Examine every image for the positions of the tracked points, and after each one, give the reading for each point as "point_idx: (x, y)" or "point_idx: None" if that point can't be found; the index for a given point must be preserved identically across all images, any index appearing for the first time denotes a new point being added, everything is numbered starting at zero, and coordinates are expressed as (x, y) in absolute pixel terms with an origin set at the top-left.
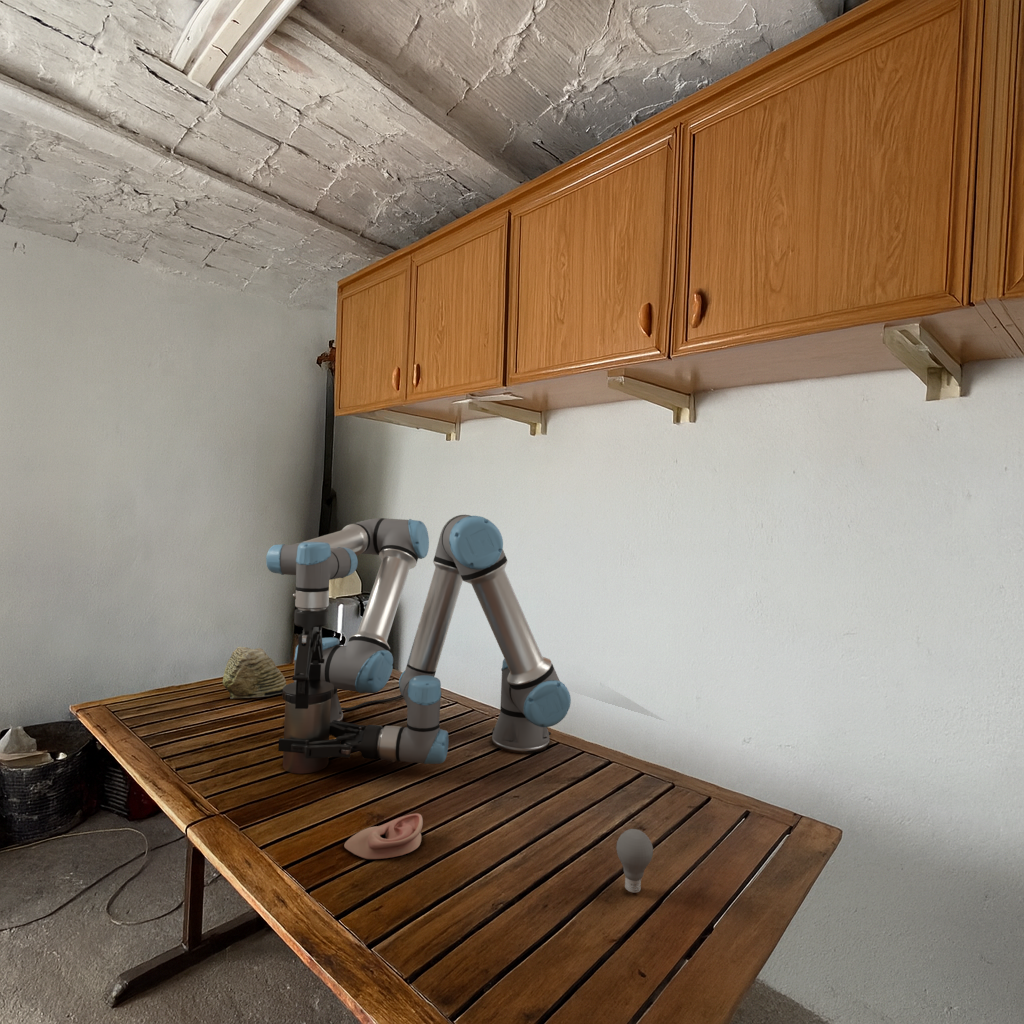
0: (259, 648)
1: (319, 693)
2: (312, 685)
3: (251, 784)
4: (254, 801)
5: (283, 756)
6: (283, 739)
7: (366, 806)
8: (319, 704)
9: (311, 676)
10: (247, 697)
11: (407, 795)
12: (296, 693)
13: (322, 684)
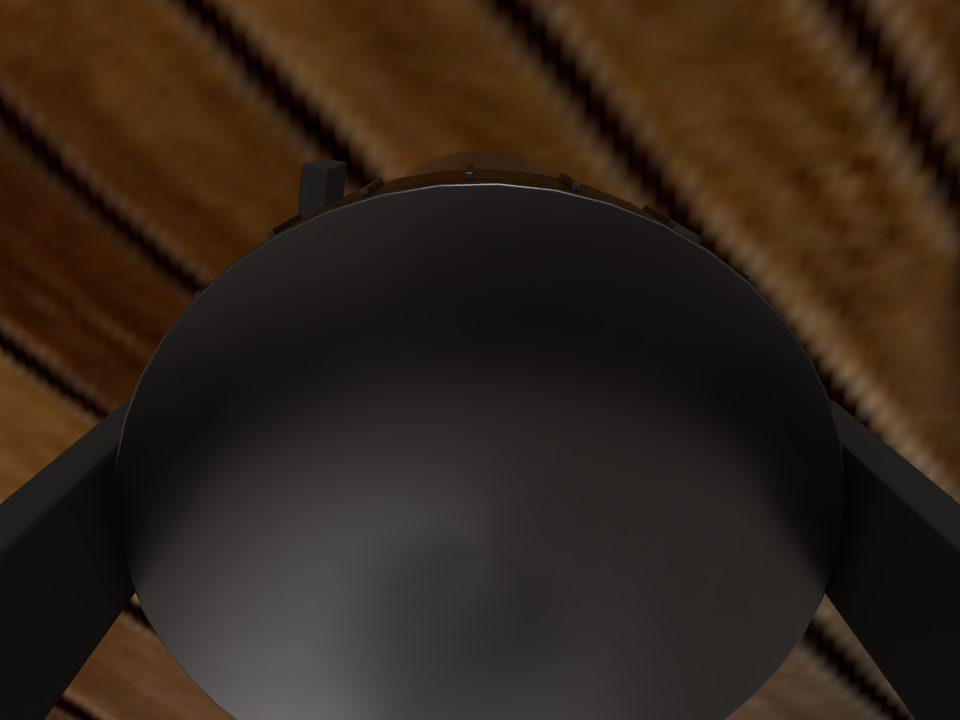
0: None
1: (225, 708)
2: (569, 580)
3: (201, 34)
4: (13, 119)
5: (426, 166)
6: (302, 203)
7: None
8: None
9: (904, 548)
10: None
11: (202, 708)
12: (8, 510)
13: (614, 680)
